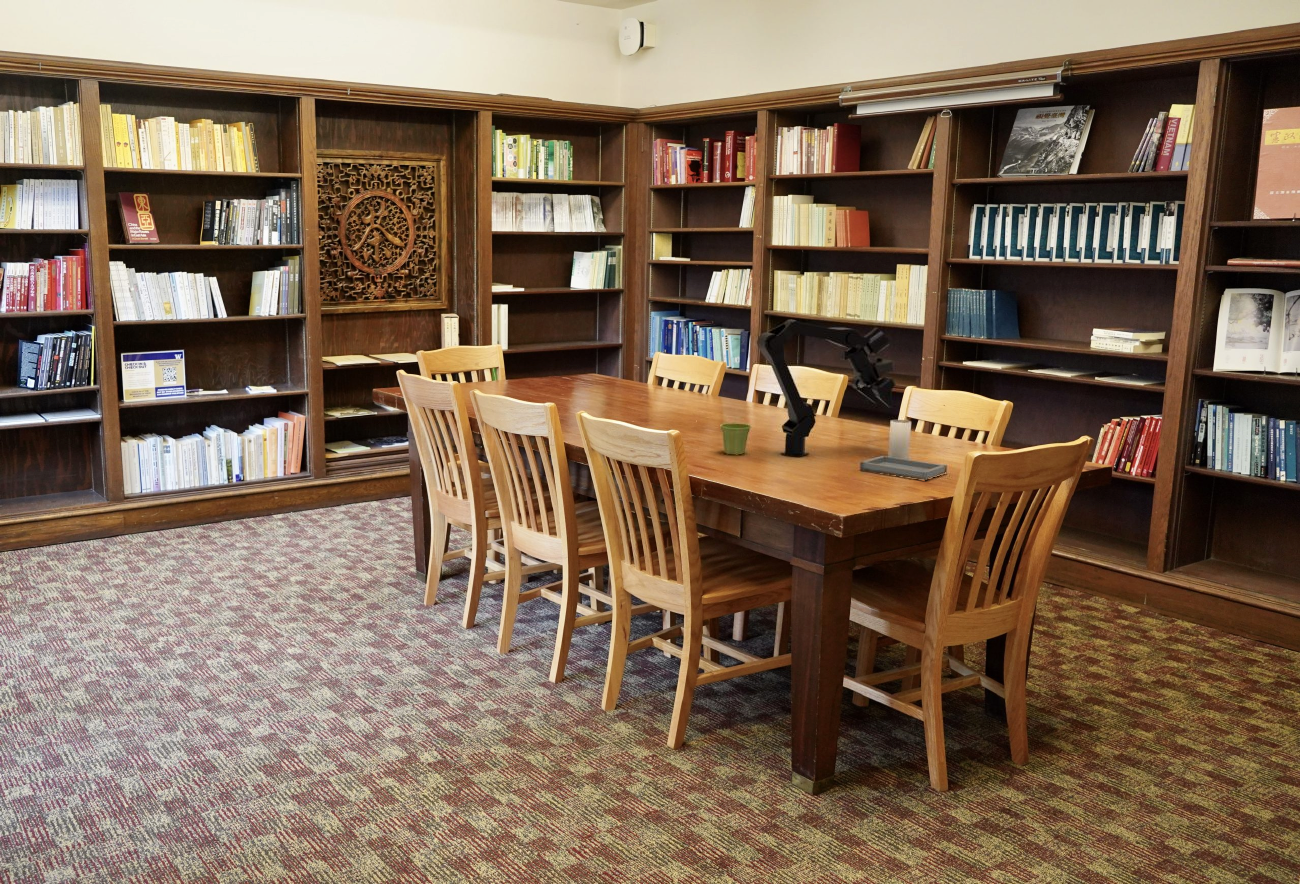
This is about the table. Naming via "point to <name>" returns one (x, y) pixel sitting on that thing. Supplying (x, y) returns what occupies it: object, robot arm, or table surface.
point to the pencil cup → (899, 439)
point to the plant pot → (735, 437)
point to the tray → (903, 467)
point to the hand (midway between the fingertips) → (884, 405)
